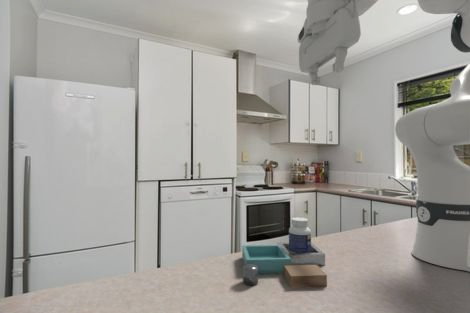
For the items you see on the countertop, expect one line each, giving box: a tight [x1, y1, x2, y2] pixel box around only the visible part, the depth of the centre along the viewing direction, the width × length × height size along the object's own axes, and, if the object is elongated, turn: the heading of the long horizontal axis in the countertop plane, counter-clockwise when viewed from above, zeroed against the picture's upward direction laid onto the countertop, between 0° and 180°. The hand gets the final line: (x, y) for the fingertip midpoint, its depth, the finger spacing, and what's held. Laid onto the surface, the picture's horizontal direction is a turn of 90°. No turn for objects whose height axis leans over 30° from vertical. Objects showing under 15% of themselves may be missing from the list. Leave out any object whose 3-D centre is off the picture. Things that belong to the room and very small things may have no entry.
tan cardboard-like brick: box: [283, 265, 328, 288], centre depth 51 cm, size 7×5×2 cm
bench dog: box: [242, 264, 259, 287], centre depth 51 cm, size 3×3×3 cm
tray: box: [241, 244, 291, 275], centre depth 59 cm, size 10×10×3 cm
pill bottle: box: [288, 216, 312, 253], centre depth 64 cm, size 5×5×10 cm
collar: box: [277, 242, 326, 266], centre depth 64 cm, size 9×9×2 cm
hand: (326, 78), depth 61 cm, fingers open, 8 cm apart
